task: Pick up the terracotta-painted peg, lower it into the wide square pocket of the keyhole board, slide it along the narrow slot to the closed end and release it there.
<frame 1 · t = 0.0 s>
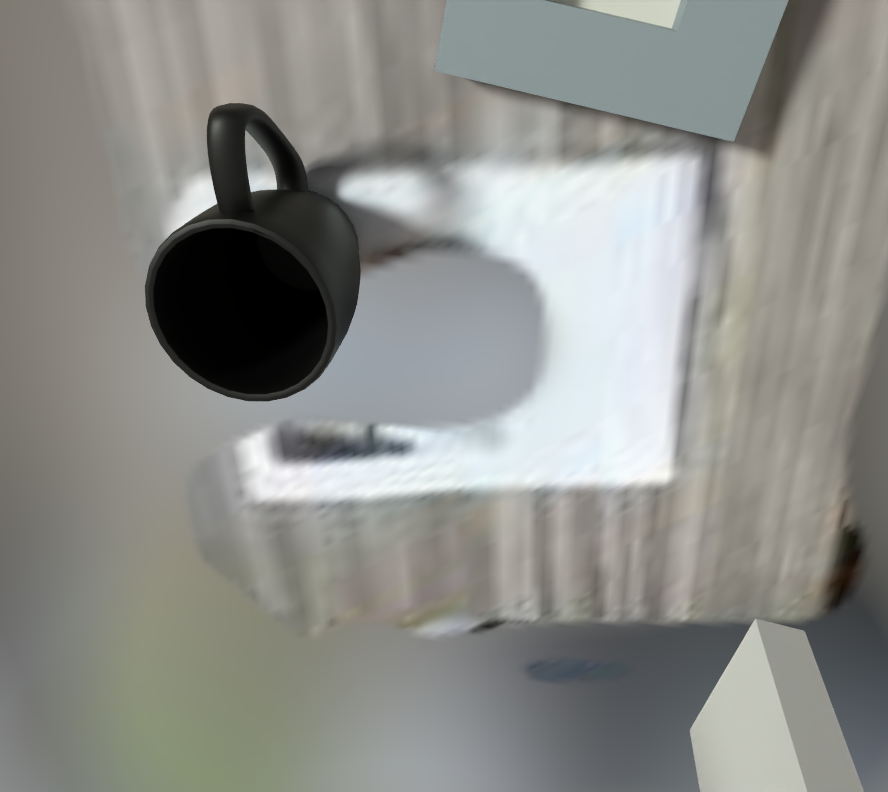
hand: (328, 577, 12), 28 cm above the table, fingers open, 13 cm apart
mug: (306, 205, 39), on the table
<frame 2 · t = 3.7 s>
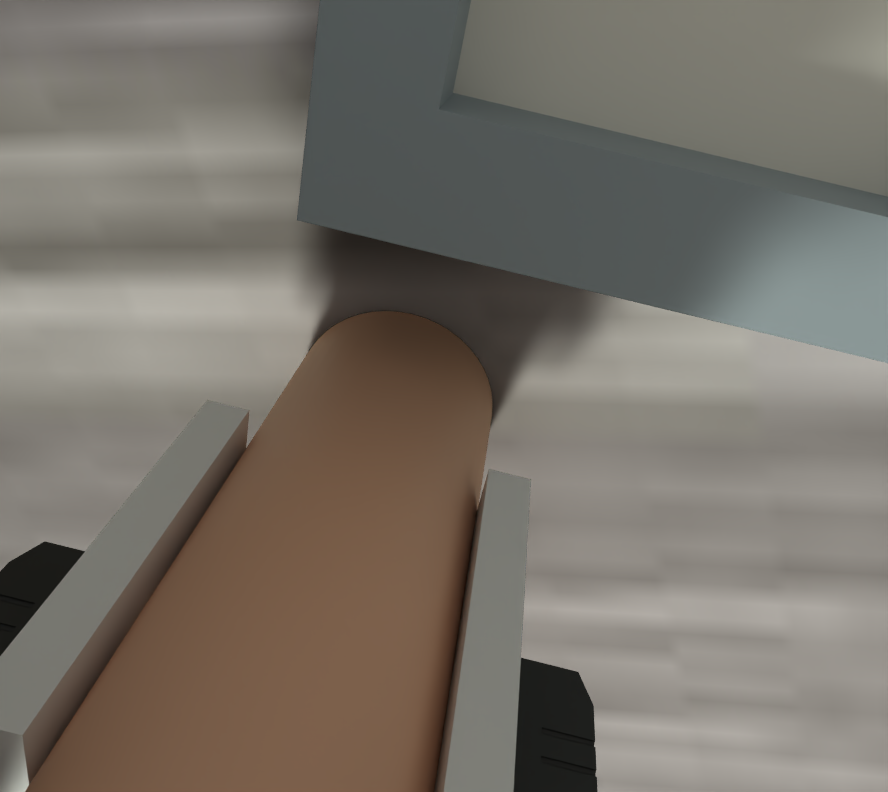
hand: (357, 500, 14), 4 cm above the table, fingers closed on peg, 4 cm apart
peg: (394, 401, 17), on the table, touching gripper
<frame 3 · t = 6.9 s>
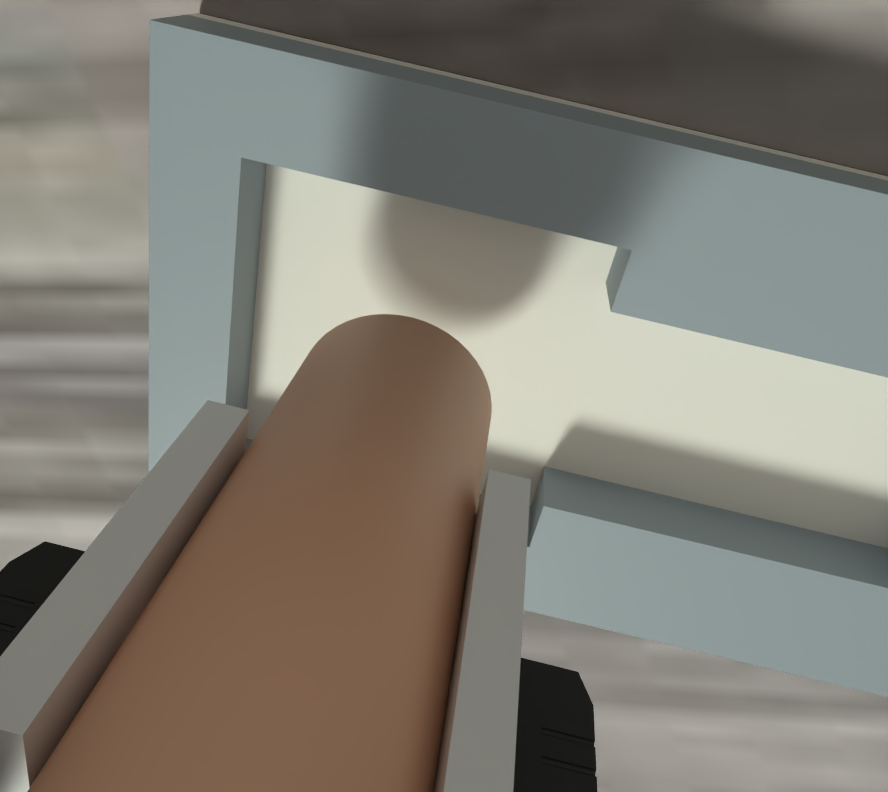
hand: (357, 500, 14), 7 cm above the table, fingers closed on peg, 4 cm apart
peg: (394, 404, 17), point 4 cm above the table, touching gripper
keyhole board: (626, 383, 20), on the table
when the fingers open (5 cm above the table, at t = 10.3 s): peg stays where it is, resting on keyhole board.
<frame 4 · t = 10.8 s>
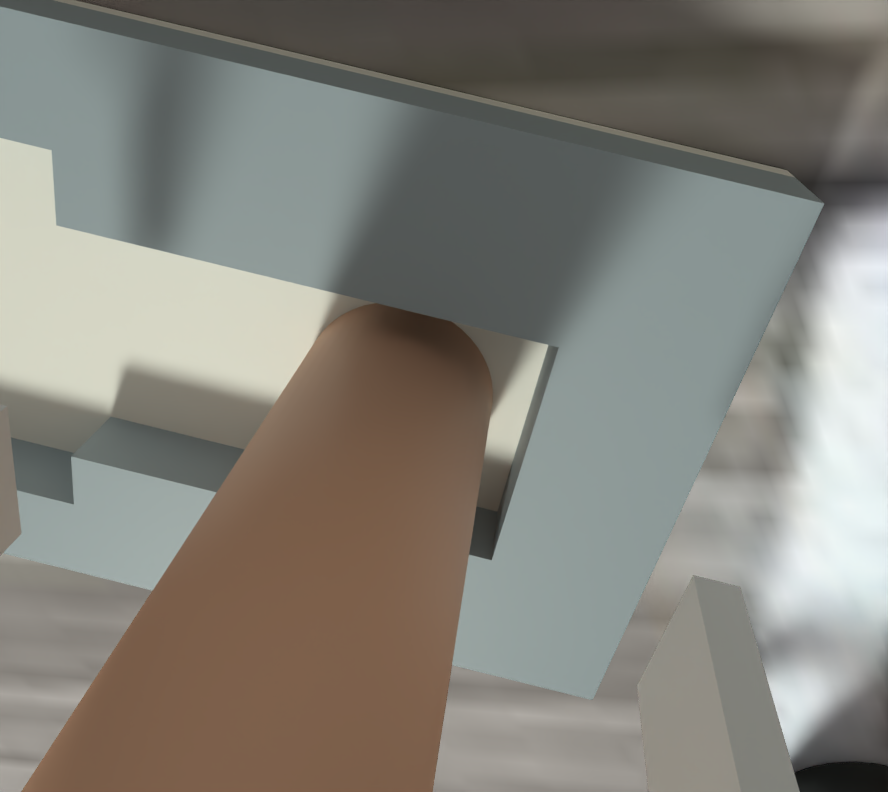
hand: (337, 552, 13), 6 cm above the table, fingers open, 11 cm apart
peg: (398, 390, 18), point 1 cm above the table, touching keyhole board
keyhole board: (181, 322, 18), on the table
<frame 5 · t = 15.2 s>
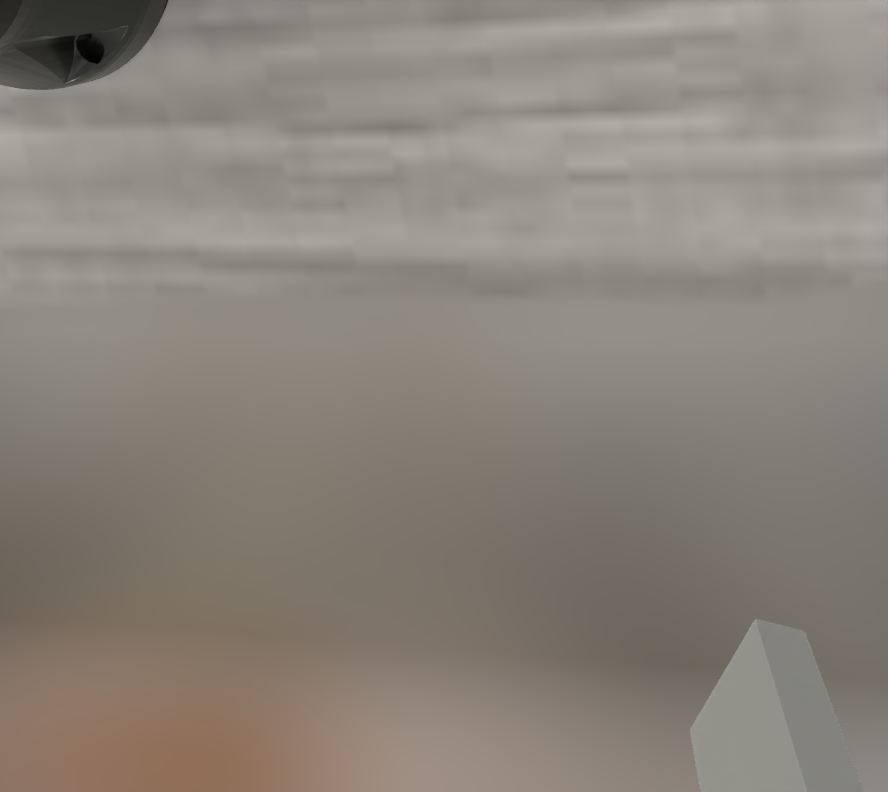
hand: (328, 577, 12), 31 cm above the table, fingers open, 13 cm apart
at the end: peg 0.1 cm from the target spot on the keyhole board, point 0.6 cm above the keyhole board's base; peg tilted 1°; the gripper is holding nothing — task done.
